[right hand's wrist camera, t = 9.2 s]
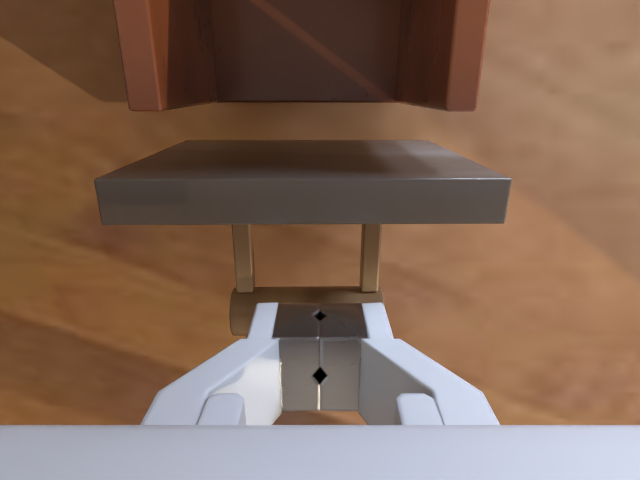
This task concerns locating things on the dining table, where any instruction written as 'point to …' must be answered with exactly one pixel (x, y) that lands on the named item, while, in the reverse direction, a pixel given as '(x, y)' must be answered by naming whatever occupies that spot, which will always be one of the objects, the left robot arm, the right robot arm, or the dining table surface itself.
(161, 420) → the right robot arm
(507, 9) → the dining table surface
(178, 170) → the drawer
